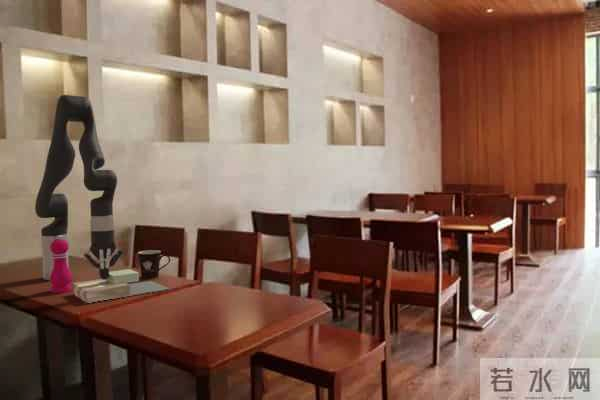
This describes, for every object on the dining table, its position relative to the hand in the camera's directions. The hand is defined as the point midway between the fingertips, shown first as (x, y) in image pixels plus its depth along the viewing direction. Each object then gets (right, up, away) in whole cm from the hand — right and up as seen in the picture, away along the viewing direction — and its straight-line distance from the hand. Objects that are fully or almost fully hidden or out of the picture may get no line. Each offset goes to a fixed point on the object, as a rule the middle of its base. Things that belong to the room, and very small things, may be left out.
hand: (104, 279), depth 185 cm
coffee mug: (+9, -4, +28) cm, 29 cm away
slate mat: (+10, -5, +8) cm, 14 cm away
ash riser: (-1, -6, 0) cm, 6 cm away
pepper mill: (-18, -6, +7) cm, 20 cm away
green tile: (+5, -1, +4) cm, 6 cm away
